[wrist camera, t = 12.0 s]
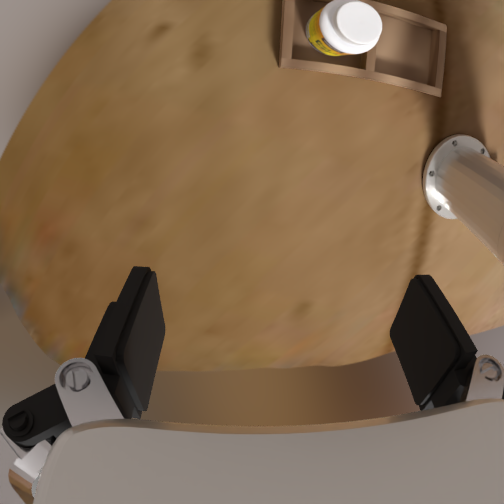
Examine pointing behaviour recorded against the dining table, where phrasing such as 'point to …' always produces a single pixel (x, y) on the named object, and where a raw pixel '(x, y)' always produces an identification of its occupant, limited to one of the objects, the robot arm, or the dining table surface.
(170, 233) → the dining table surface
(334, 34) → the supplement bottle
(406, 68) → the divided well tray
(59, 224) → the dining table surface
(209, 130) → the dining table surface
